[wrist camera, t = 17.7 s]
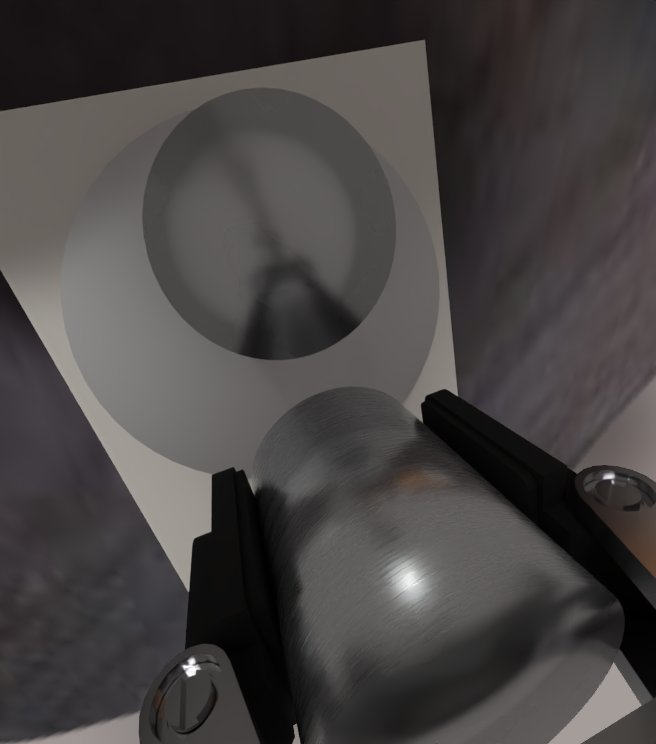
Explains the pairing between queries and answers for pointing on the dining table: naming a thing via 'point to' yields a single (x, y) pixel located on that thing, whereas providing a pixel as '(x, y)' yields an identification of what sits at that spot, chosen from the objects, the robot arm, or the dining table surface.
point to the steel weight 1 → (269, 223)
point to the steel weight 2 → (417, 587)
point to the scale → (158, 317)
